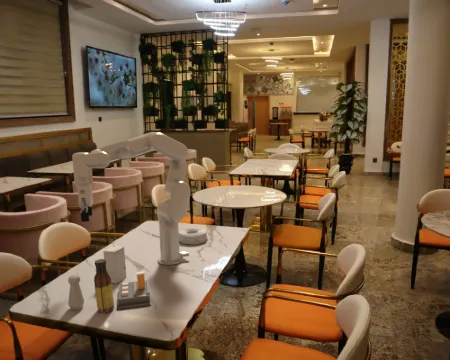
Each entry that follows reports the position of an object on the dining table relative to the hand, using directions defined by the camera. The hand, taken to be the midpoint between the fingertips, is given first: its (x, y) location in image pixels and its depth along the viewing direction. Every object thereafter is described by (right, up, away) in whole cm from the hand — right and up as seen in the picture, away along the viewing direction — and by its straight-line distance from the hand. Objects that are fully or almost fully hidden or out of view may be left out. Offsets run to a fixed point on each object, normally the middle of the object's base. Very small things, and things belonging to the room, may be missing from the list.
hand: (87, 218), depth 174 cm
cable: (+42, -19, +56) cm, 73 cm away
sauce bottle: (+15, -33, -23) cm, 43 cm away
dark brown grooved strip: (+26, -32, -22) cm, 47 cm away
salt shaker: (+4, -33, -22) cm, 40 cm away
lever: (+27, -27, -13) cm, 41 cm away
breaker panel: (+24, -31, -13) cm, 41 cm away
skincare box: (+12, -28, +3) cm, 31 cm away
